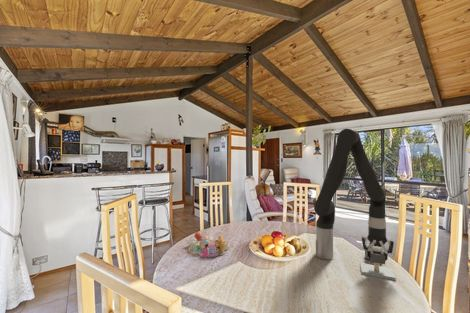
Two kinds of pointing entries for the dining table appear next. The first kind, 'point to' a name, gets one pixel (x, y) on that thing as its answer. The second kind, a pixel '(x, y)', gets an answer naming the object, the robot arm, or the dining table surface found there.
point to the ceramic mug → (372, 249)
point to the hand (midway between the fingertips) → (377, 259)
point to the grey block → (377, 257)
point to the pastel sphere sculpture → (208, 246)
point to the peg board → (377, 271)
